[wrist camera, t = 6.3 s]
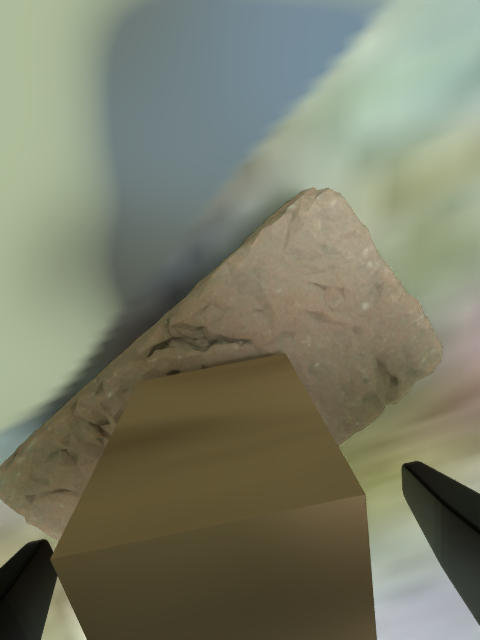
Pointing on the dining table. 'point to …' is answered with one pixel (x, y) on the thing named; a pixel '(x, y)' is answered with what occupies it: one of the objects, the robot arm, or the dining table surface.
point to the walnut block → (220, 517)
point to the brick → (250, 345)
